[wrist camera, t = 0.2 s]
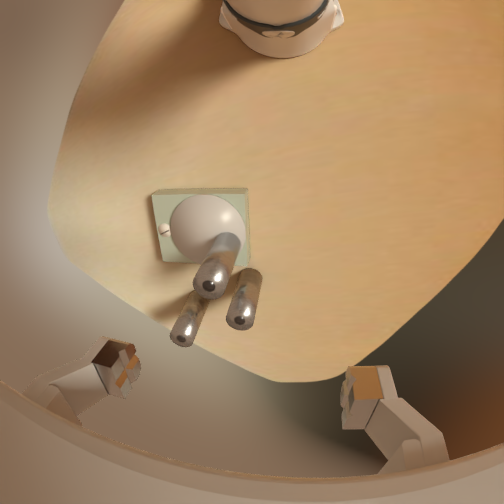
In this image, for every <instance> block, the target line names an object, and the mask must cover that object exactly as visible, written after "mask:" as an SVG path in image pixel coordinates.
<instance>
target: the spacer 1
mask: <svg viewBox="0 0 504 504" xmlns="http://www.w3.org/2000/svg"><path fill="white" fill-rule="evenodd" d="M209 302H210V299H207V298H204V297H202V296H200V295H199V294H198V293H197V292H196V291H192V292H191V293H190V295H189V297H188V299H187V301H186V303H185V305H184V307H183V309H182V311H181V313H180V315H179V317H178V319H177V321H176V323H175V325H174V327H173V329H172V331H171V333H170V338H171V340H172V341H173V342H174V343H175V344H177V345H179V346H182V347H189V346H191V345H192V344H193V341H194V339H195V336H196V334H197V331H198V329H199V327H200V324H201V322H202V319H203V317H204V314H205V312H206V309H207V307H208V305H209Z"/></svg>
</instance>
